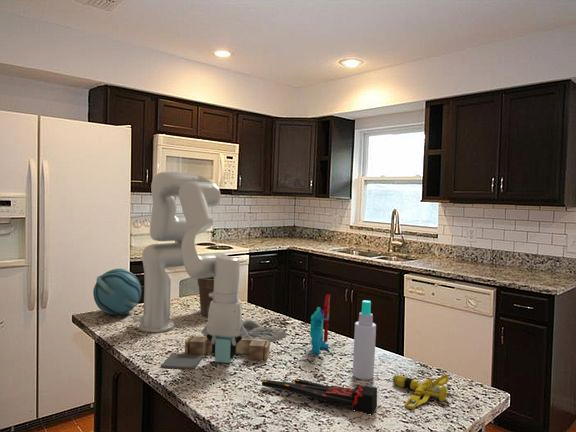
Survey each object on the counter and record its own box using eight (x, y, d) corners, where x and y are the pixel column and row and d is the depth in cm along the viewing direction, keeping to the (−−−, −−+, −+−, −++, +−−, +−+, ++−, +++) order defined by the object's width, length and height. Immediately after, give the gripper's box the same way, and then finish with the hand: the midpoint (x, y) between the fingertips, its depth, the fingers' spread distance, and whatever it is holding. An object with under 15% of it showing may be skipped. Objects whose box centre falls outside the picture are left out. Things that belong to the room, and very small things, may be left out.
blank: (214, 361, 134) (215, 339, 134) (218, 356, 139) (218, 334, 139) (229, 362, 134) (230, 339, 134) (232, 357, 139) (233, 335, 138)
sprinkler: (406, 360, 131) (458, 374, 121) (407, 373, 132) (458, 388, 122) (373, 390, 116) (429, 408, 107) (374, 404, 117) (429, 423, 107)
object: (188, 311, 191) (189, 274, 190) (219, 306, 202) (220, 271, 201) (208, 320, 179) (210, 280, 179) (241, 314, 190) (242, 276, 190)
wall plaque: (289, 337, 164) (289, 326, 164) (253, 349, 150) (254, 338, 149) (244, 323, 179) (244, 313, 179) (207, 333, 164) (207, 323, 164)
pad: (160, 367, 130) (160, 365, 130) (172, 355, 140) (172, 353, 140) (194, 369, 129) (194, 367, 129) (203, 357, 139) (203, 355, 139)
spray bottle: (348, 373, 131) (352, 299, 130) (365, 370, 134) (369, 298, 133) (360, 381, 126) (363, 304, 125) (377, 378, 128) (381, 303, 127)
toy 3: (258, 397, 117) (371, 418, 105) (258, 378, 117) (371, 397, 105) (272, 385, 125) (379, 403, 113) (272, 368, 125) (379, 384, 113)
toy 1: (149, 282, 196) (111, 256, 189) (154, 292, 178) (113, 264, 171) (121, 317, 192) (82, 292, 186) (124, 330, 175) (81, 303, 168)
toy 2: (324, 326, 136) (330, 289, 147) (305, 325, 137) (312, 288, 149) (326, 361, 148) (331, 324, 159) (309, 359, 149) (315, 322, 160)
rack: (184, 355, 140) (185, 341, 140) (190, 348, 146) (191, 335, 146) (266, 361, 138) (267, 347, 138) (269, 353, 144) (269, 340, 144)
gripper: (195, 298, 132) (193, 359, 133) (251, 302, 131) (249, 362, 132) (201, 293, 140) (200, 350, 141) (255, 296, 139) (253, 353, 140)
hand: (223, 355), depth 136 cm, fingers closed on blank, 4 cm apart
